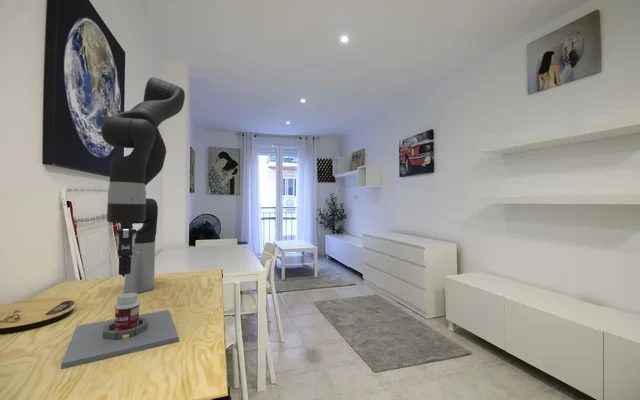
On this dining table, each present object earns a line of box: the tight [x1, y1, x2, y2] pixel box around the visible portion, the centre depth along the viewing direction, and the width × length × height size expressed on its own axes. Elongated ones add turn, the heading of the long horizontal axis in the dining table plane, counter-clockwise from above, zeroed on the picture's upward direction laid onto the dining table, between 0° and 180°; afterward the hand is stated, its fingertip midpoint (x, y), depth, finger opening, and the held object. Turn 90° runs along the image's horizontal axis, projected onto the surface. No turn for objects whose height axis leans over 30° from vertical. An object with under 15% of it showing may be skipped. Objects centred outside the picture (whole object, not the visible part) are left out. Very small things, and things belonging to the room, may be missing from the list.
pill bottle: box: [114, 292, 140, 331], centre depth 67 cm, size 5×5×8 cm
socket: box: [60, 309, 180, 369], centre depth 67 cm, size 20×20×2 cm
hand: (124, 270), depth 67 cm, fingers open, 8 cm apart
